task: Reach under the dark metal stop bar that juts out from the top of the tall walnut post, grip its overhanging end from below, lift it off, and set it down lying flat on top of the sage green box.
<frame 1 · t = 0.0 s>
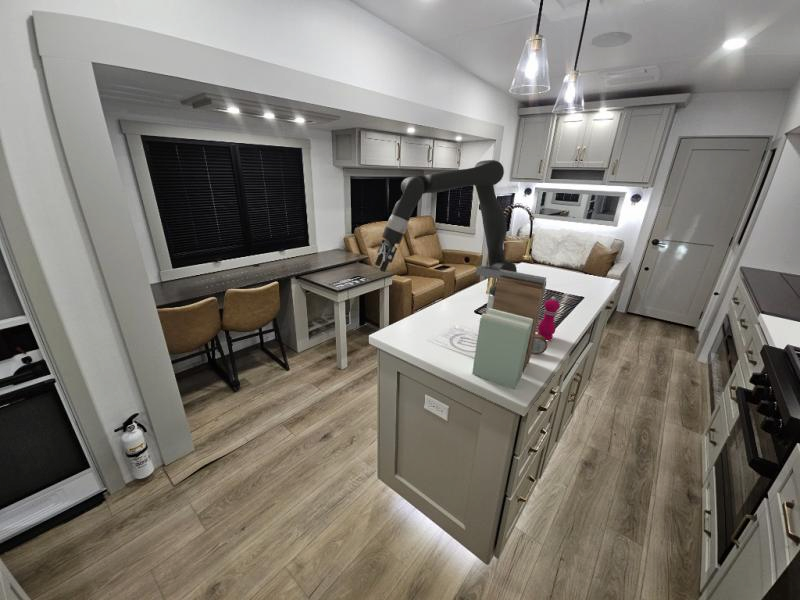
hand: (379, 268, 124), 31 cm above the counter, tool tilted 20°, fingers open, 8 cm apart
tin: (525, 352, 131), on the counter
pepper mill: (544, 338, 144), on the counter
sage green box: (496, 375, 114), on the counter
walnut post: (506, 360, 124), on the counter
stop bar: (508, 280, 115), point 32 cm above the counter, touching walnut post
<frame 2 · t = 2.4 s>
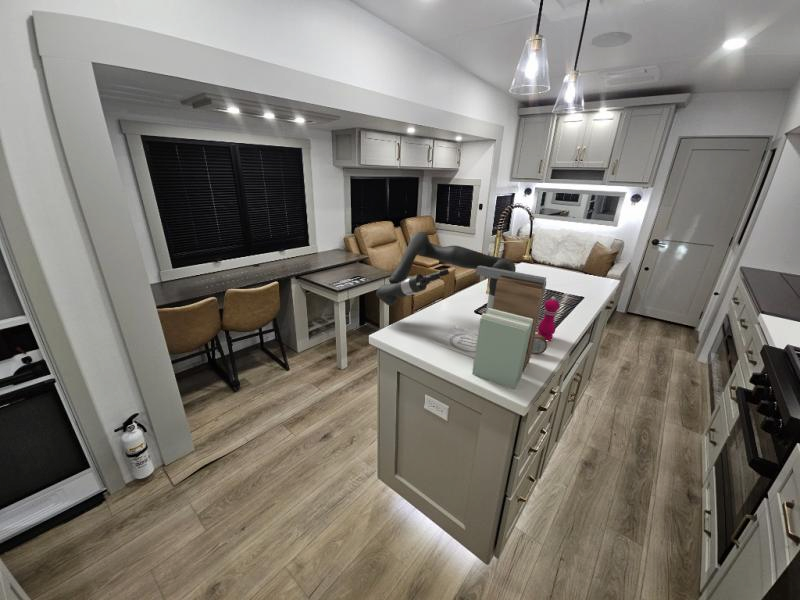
hand: (443, 273, 131), 29 cm above the counter, tool pointing upward, fingers open, 8 cm apart
nothing on the counter moved.
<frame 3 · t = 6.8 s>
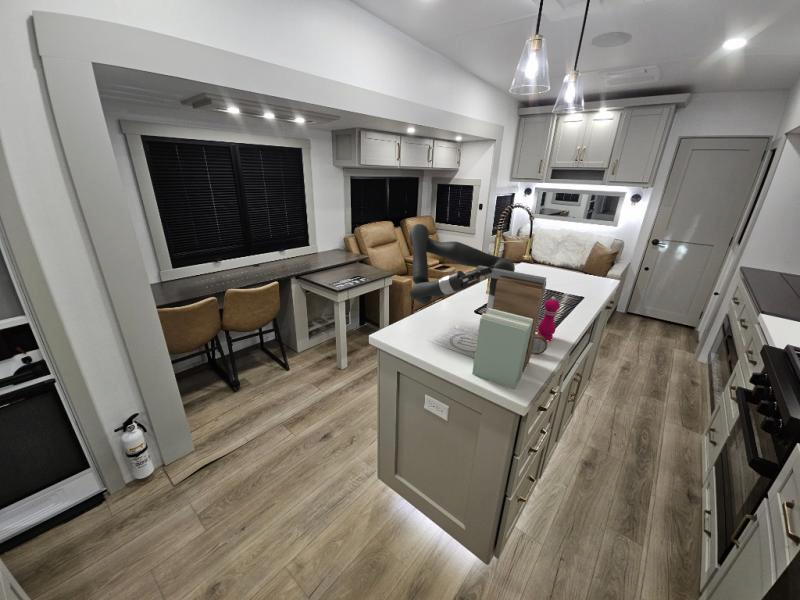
hand: (492, 268, 117), 35 cm above the counter, tool pointing upward, fingers closed on stop bar, 3 cm apart
stop bar: (508, 280, 115), point 32 cm above the counter, touching gripper, walnut post
everything else where it was.
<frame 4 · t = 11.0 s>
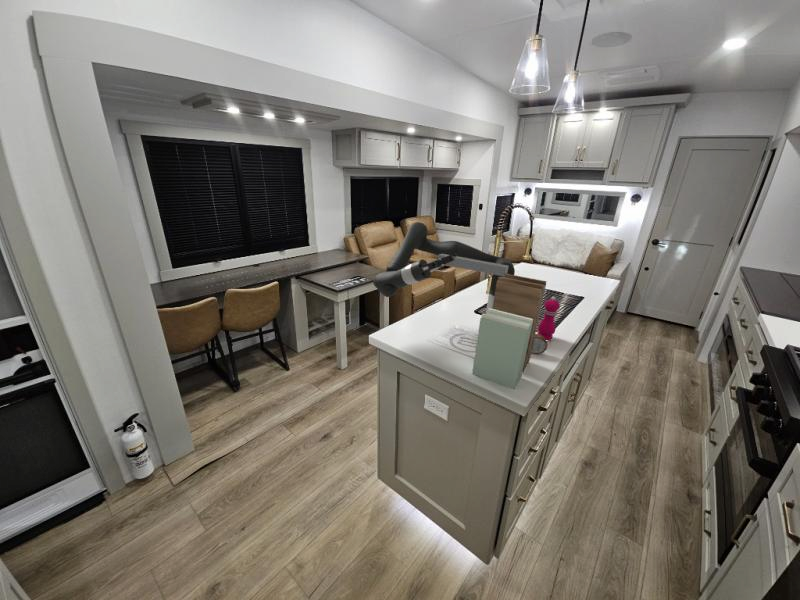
hand: (454, 256, 110), 40 cm above the counter, tool pointing upward, fingers closed on stop bar, 3 cm apart
stop bar: (470, 268, 108), point 37 cm above the counter, touching gripper
everything else where it was.
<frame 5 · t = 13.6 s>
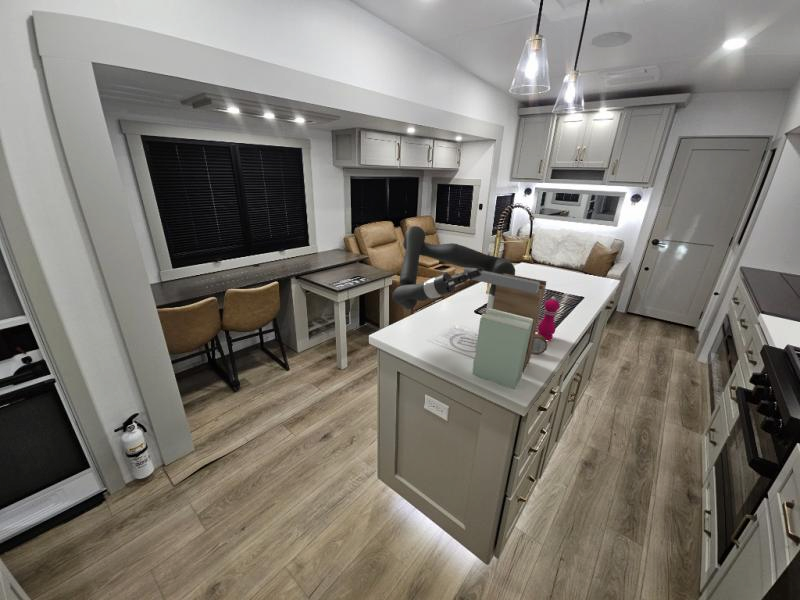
hand: (481, 271, 106), 37 cm above the counter, tool pointing upward, fingers closed on stop bar, 3 cm apart
stop bar: (498, 284, 104), point 34 cm above the counter, touching gripper
everything else where it was.
when the fingers open (26 cm above the counter, at t = 15.6 s): stop bar drops 1 cm, resting on sage green box.
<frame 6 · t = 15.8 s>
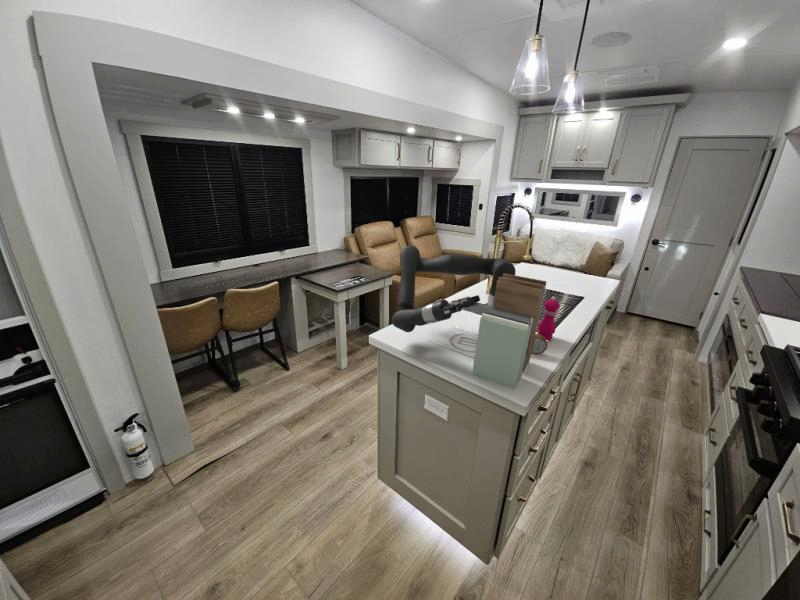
hand: (476, 300, 110), 26 cm above the counter, tool pointing upward, fingers open, 4 cm apart
stop bar: (493, 316, 108), point 22 cm above the counter, touching sage green box
everything else where it was.
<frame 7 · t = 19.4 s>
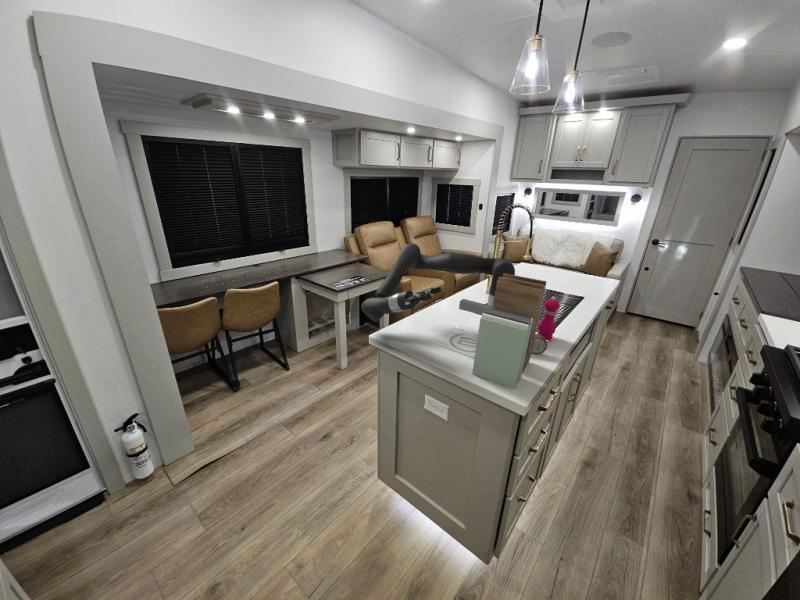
hand: (435, 292, 118), 25 cm above the counter, tool pointing upward, fingers open, 8 cm apart
nothing on the counter moved.
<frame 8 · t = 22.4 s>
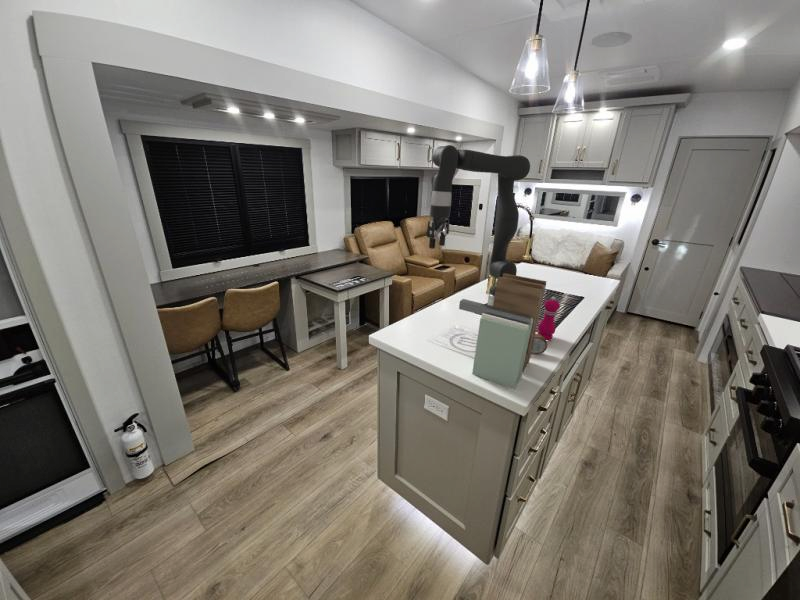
hand: (437, 246, 125), 40 cm above the counter, tool pointing down, fingers open, 8 cm apart
nothing on the counter moved.
at the end: stop bar inside the target area on the sage green box (0.8 cm from its centre), point 22.0 cm above the sage green box's base; stop bar tilted 0°; the gripper is holding nothing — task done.
